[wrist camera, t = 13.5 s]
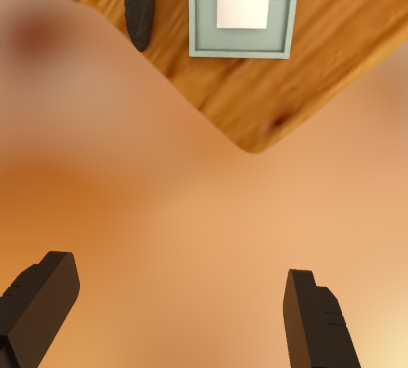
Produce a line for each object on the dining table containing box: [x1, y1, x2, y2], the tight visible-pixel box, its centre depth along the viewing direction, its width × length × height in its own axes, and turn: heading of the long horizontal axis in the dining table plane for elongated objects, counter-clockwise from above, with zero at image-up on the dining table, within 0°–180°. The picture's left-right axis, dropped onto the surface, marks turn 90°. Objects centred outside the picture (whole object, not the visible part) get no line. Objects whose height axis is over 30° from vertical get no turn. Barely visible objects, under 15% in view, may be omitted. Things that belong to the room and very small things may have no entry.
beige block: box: [217, 0, 269, 29], centre depth 34 cm, size 5×5×5 cm
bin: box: [189, 0, 297, 59], centre depth 35 cm, size 11×11×3 cm
